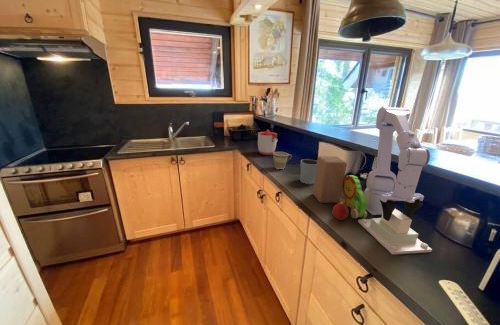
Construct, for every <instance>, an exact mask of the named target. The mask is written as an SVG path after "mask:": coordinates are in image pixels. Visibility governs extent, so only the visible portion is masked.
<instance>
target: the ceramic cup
mask: <svg viewBox="0 0 500 325" xmlns="http://www.w3.org/2000/svg"><path fill="white" fill-rule="evenodd" d="M272 157H273V166H274V168H276V170H279V169H283V170H285V169H284V168H286V165H287V162H289V160H291V159H292V157H293V156H292V154H290V153H287V152H284V151H274V153H273V154H272Z"/></svg>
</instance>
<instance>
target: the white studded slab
mask: <svg viewBox="0 0 500 325" xmlns="http://www.w3.org/2000/svg"><path fill="white" fill-rule="evenodd" d="M357 223H359V225H360V226H362V227H363V228H364V229H365V230H366V231H367V232H368V233H369V234H370V235H371V236H372V237H374V239H375V240H376V241H378V242H379V243H380V245H382V246H383V247H384V248H385V249H386V250H387V251H388V252H389V253H390V254H391V255H404V254H405V255H406V254H420V253H421V254H423V253H432V252H433V248H431V247H430V246H429V244H427V243H425V242H423V241H421V240H420V239H419V238H418V237H419V233H418V232H416V231H415V230H414V229H412V228H411V227H410V228H409V231H408V233H397V232H395V231H394V230H393V229H392V228H390V227H389V226H388V225H387V224H385V223H384V222H383V221H382V220H381V217H373V218H369V219H368V218H361V219H358V220H357Z"/></svg>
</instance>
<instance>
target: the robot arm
mask: <svg viewBox="0 0 500 325" xmlns="http://www.w3.org/2000/svg"><path fill="white" fill-rule="evenodd" d="M410 116H411V110H410V108H408V107H389V106H381V107H380V108H379V110H378V111H377V114H376V120H375V121H376V122H375V128H376V129H378V130H379V134H378V144H377V145H378V147H377V157H376V159H377V160H376V168H375V169H373V170H371V171H370V172H369V173H368V175H367V179H366V188H365V189H364V190H363V193H364V194H365V197H366V209H365V210H366V212H367V213H370V215H373V216H382V212H383V218H384V219H385V220H387V221H389V220H390V218H391V215H392V212H393V211H394V209H396V208H397V206H398V205H396V204H394V202H397V201H398V202H403V203H404V204H403V205H404V206H403V211H402V213H403V214H404V215H406V216H407V217H409V218H410V219H412V216H413V215H414V214H415V213H416V211H417V210H419V209H420V208H422V207H423V205H424V203H423V200H424V198H425V196H424V195H423V194H421V193H418V192H417V193H416V189H417V187H418V183H419V179H420V176H421V172H422V169H423V167H427V166H428V164H429V163H430V160H431V153H430V152H431V151H430V150H429V148H426V147H425V146H422V144H421V143H420V140H419V138H418V136H417V134H416V132H415V131H411V128H410V124H409V119H410ZM395 131H396V133H397V135H396V137H395V141H396V144H397V146H398V149H399V153H398V165H397V168H398V172H397V175H396V174H395V173H394V172H393V171H391V161H392V151H393V150H392V148H393V140H394V132H395Z"/></svg>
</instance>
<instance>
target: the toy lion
mask: <svg viewBox="0 0 500 325" xmlns="http://www.w3.org/2000/svg"><path fill="white" fill-rule="evenodd" d="M363 192H364V190H362V185H361V181H360V179H359V177H358V176H356V175H353V174H350V175H345V176H344V182H343V187H342V193H343V197H341V198H340V199H339V202H338V204H339V203H340V202H343V203H344V204H345V205H346V206H347V207H349V208H350V216H351V218H353V219H358V218H361V219H367V217H368V211H367V210H366V197H365V194H364V193H363Z"/></svg>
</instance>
